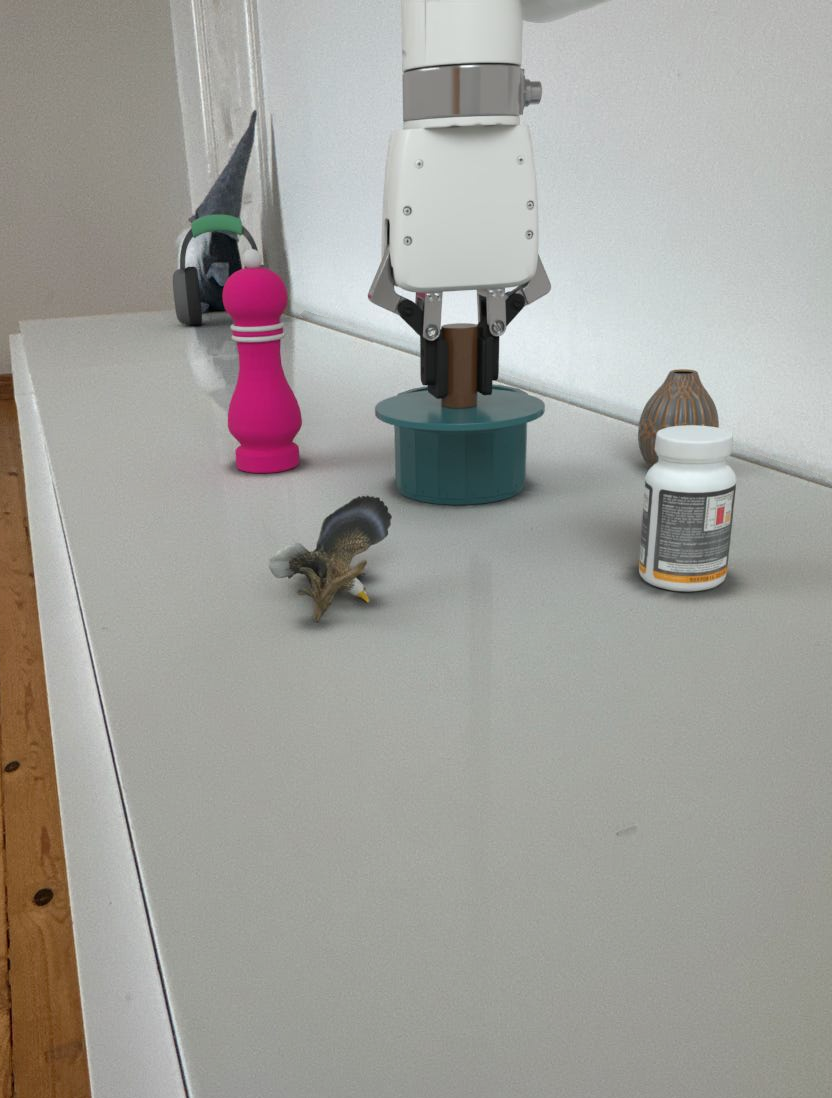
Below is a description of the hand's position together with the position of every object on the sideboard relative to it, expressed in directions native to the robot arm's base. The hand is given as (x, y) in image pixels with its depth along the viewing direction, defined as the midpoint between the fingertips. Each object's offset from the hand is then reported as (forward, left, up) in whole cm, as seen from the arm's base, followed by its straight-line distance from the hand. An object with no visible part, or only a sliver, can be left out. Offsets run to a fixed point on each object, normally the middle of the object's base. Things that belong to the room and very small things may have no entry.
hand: (459, 391), depth 72 cm
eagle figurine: (+11, +9, -11) cm, 18 cm away
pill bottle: (-12, +12, -11) cm, 21 cm away
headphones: (+9, -139, -11) cm, 140 cm away
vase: (-24, -13, -11) cm, 30 cm away
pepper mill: (+12, -27, -11) cm, 32 cm away
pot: (-4, -14, -11) cm, 18 cm away
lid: (0, 0, -1) cm, 1 cm away
